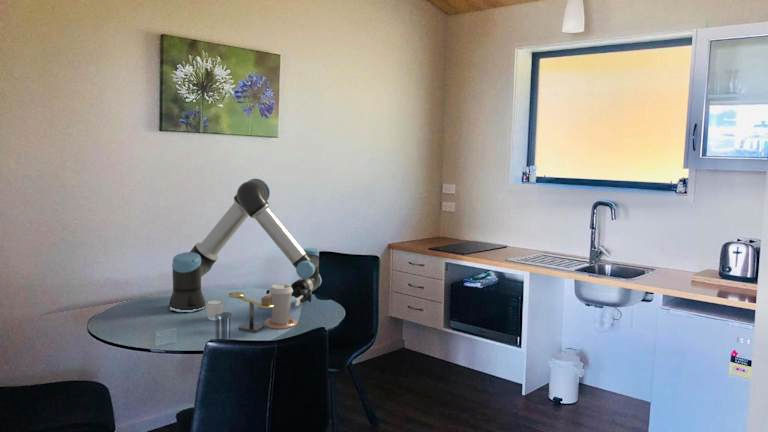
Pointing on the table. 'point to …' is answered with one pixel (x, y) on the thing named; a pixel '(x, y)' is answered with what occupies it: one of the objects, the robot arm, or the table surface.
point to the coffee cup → (281, 302)
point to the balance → (265, 304)
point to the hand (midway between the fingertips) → (280, 301)
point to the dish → (272, 325)
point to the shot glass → (214, 308)
